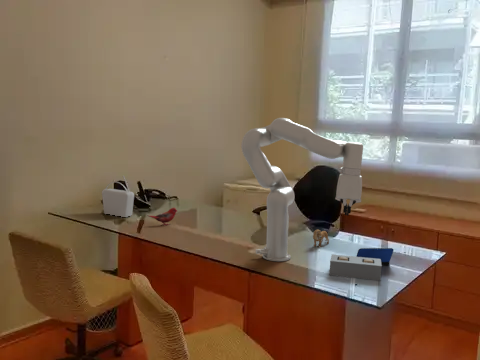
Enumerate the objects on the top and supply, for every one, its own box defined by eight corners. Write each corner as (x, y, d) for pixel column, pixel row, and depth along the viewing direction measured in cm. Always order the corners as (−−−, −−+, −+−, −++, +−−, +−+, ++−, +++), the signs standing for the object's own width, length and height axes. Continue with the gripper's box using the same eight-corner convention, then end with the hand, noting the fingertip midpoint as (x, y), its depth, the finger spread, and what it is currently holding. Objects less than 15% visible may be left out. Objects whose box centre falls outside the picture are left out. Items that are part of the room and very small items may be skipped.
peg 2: (362, 275, 198) (363, 261, 197) (362, 273, 201) (363, 259, 201) (372, 276, 197) (373, 262, 196) (371, 274, 201) (372, 259, 200)
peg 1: (337, 273, 200) (338, 259, 200) (338, 270, 204) (339, 256, 203) (346, 274, 199) (347, 259, 199) (347, 271, 203) (348, 257, 202)
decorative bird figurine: (178, 225, 279) (178, 207, 277) (147, 226, 272) (147, 209, 271) (177, 224, 281) (177, 207, 280) (146, 225, 275) (146, 208, 273)
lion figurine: (320, 249, 237) (321, 231, 235) (310, 247, 239) (311, 229, 238) (330, 242, 249) (331, 225, 248) (320, 241, 252) (321, 224, 251)
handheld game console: (382, 260, 223) (383, 240, 221) (393, 269, 209) (394, 248, 208) (348, 259, 221) (349, 239, 220) (357, 269, 208) (358, 248, 207)
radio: (136, 216, 298) (136, 176, 295) (126, 218, 291) (126, 177, 288) (111, 211, 310) (111, 172, 307) (101, 213, 303) (100, 174, 300)
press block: (329, 275, 198) (330, 260, 197) (331, 267, 208) (331, 254, 207) (380, 280, 193) (381, 265, 192) (379, 272, 203) (380, 258, 202)
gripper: (332, 171, 202) (327, 214, 205) (369, 174, 198) (364, 218, 201) (333, 169, 209) (329, 210, 212) (369, 172, 205) (364, 215, 208)
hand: (346, 214), depth 206 cm, fingers closed
